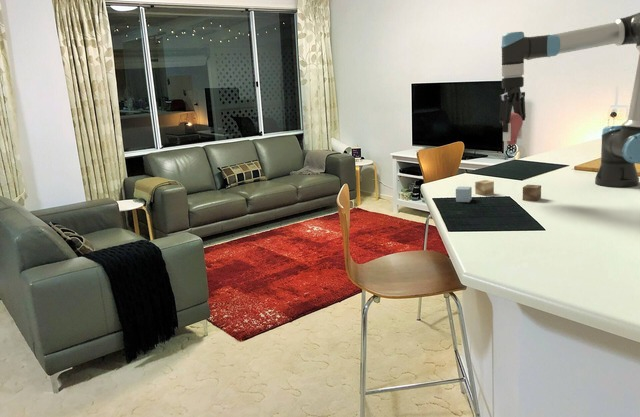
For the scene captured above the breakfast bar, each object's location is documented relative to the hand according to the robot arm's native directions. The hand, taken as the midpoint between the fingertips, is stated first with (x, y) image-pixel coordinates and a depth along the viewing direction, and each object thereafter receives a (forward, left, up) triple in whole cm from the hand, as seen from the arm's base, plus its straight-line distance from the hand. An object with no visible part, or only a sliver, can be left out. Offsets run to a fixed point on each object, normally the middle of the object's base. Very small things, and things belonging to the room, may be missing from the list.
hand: (512, 139), depth 191 cm
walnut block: (-8, 0, -22) cm, 24 cm away
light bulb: (0, 0, -2) cm, 2 cm away
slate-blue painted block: (+12, +14, -22) cm, 29 cm away
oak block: (+12, 0, -22) cm, 25 cm away
